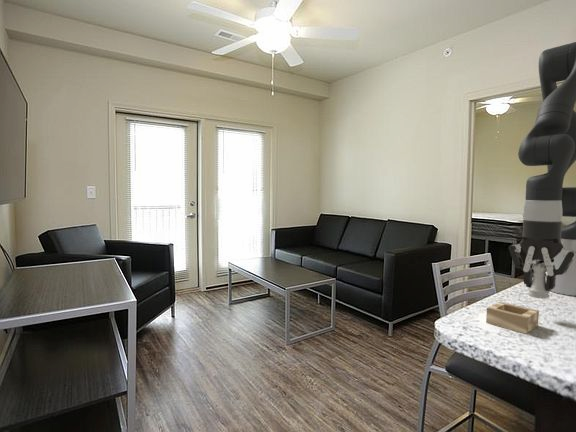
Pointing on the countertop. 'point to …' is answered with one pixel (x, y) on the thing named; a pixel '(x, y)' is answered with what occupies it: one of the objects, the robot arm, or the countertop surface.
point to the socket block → (512, 317)
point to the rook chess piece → (539, 282)
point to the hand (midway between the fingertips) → (538, 288)
